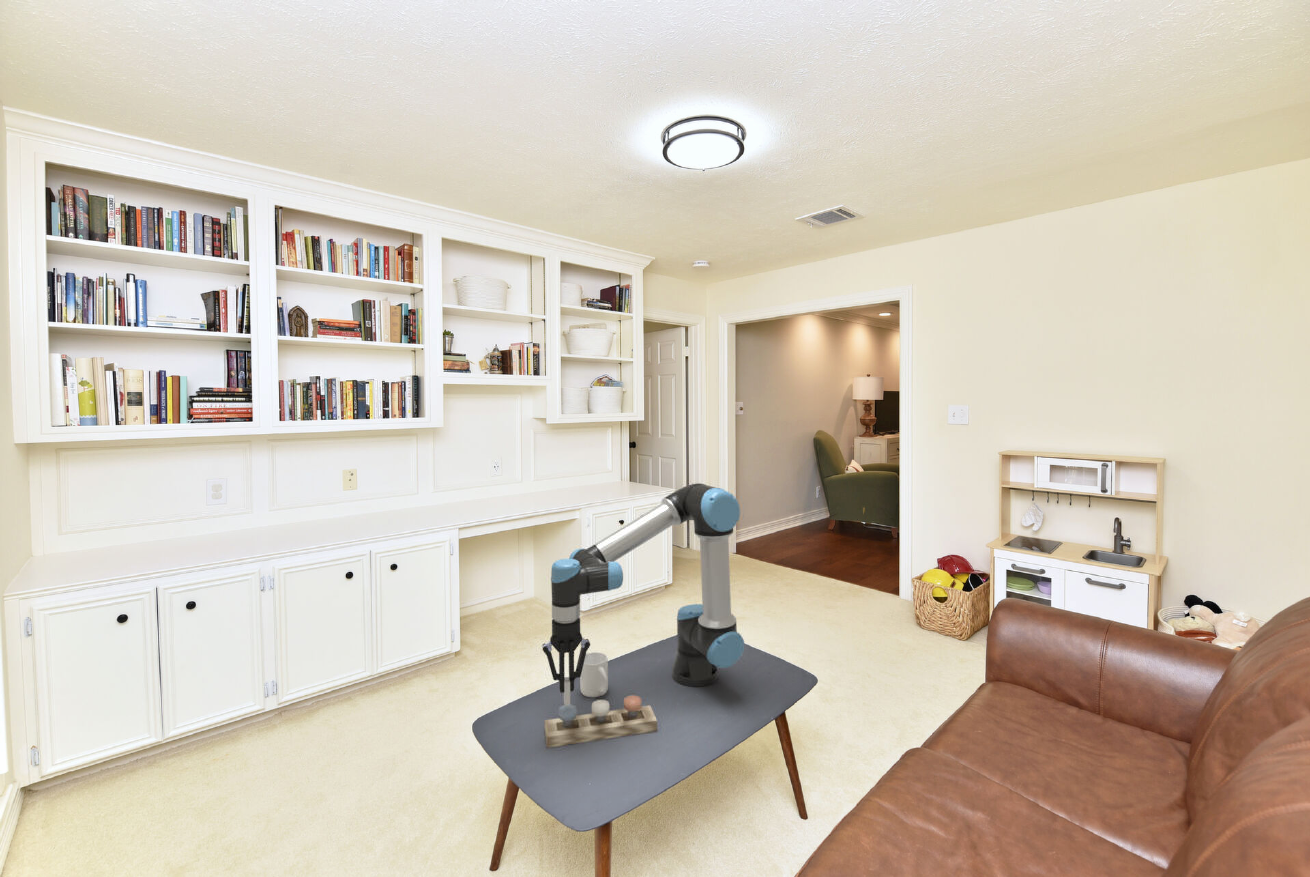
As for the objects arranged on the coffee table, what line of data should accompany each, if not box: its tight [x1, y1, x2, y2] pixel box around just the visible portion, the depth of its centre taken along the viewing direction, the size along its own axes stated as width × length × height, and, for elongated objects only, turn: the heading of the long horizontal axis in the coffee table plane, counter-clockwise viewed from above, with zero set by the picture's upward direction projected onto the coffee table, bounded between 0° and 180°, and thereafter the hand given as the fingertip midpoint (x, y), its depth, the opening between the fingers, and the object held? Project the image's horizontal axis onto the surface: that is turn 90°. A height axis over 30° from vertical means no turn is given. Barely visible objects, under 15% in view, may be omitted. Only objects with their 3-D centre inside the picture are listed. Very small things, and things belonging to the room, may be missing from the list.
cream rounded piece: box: [591, 699, 610, 723], centre depth 160 cm, size 5×5×4 cm
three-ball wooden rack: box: [544, 705, 658, 749], centre depth 160 cm, size 30×8×3 cm, turn 104°
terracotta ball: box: [623, 695, 642, 718], centre depth 162 cm, size 5×5×4 cm
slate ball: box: [558, 703, 578, 728], centre depth 158 cm, size 5×5×4 cm
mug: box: [579, 651, 609, 698], centre depth 180 cm, size 9×12×11 cm
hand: (567, 702), depth 157 cm, fingers closed
